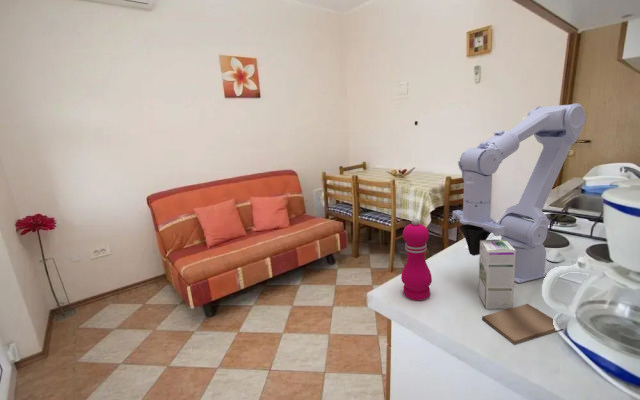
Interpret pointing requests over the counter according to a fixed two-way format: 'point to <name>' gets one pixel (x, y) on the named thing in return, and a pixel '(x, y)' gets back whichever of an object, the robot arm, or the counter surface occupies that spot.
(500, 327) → the walnut board
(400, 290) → the counter surface
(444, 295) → the counter surface
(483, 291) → the syrup box
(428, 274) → the pepper mill
